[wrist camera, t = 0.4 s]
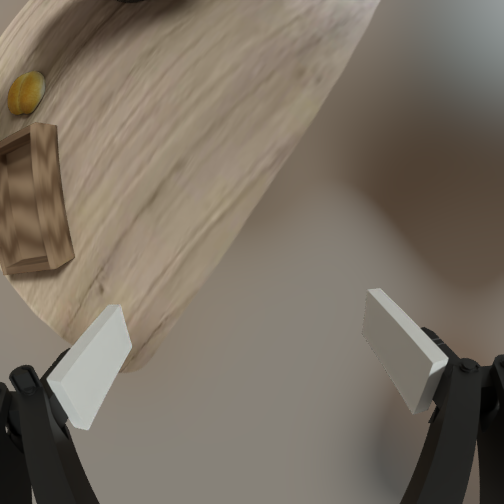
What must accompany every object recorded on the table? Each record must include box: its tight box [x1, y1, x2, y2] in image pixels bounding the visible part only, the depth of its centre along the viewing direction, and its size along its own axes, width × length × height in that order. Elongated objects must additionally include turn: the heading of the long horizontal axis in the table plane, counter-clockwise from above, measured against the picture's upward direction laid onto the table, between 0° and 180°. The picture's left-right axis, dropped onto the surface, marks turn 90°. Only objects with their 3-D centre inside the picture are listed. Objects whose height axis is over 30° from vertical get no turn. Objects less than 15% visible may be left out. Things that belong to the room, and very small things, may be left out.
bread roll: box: [8, 71, 45, 115], centre depth 31 cm, size 8×9×4 cm
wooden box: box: [0, 122, 75, 275], centre depth 35 cm, size 22×14×6 cm, turn 6°
